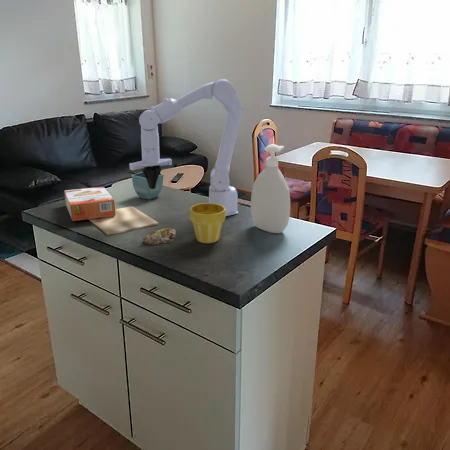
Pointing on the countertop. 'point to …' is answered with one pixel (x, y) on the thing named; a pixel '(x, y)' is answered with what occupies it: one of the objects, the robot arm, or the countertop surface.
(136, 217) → the board
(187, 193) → the countertop surface
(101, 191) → the cracker box
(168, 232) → the mineral rock
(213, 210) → the plant pot
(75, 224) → the countertop surface
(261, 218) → the soap bottle
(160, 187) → the flower pot
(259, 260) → the countertop surface
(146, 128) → the robot arm
